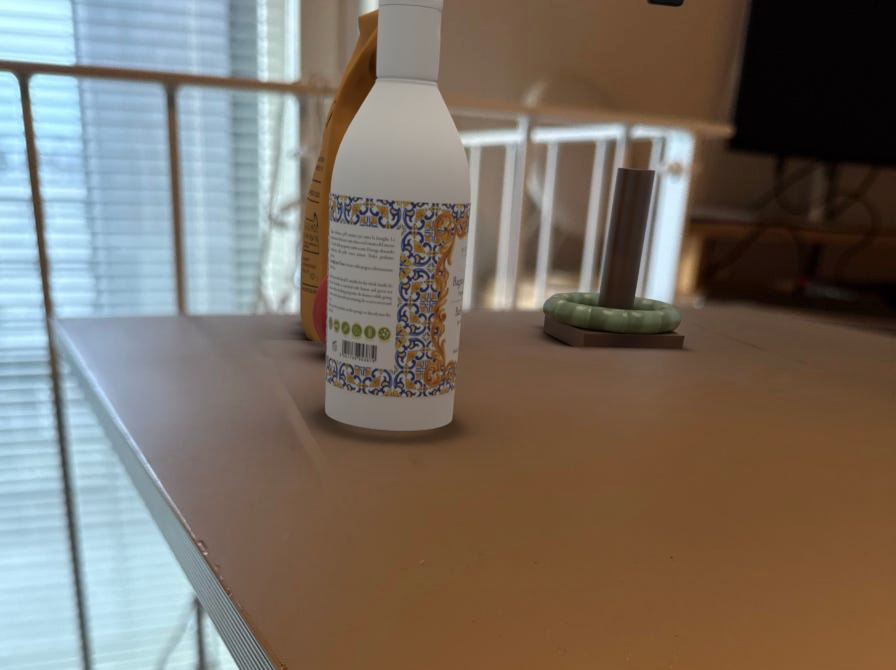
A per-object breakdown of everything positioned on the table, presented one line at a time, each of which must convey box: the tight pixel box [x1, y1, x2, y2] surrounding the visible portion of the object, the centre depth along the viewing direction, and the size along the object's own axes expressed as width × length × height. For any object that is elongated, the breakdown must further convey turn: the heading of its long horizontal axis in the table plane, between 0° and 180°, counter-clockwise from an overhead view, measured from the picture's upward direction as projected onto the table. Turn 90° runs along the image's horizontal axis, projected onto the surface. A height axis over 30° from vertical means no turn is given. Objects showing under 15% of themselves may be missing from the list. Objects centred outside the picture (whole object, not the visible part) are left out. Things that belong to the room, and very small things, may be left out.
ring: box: [542, 291, 683, 334], centre depth 82 cm, size 12×12×2 cm
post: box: [542, 167, 686, 350], centre depth 80 cm, size 9×9×14 cm
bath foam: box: [324, 0, 472, 432], centre depth 48 cm, size 7×7×20 cm
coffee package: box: [299, 8, 379, 342], centre depth 72 cm, size 10×12×22 cm
